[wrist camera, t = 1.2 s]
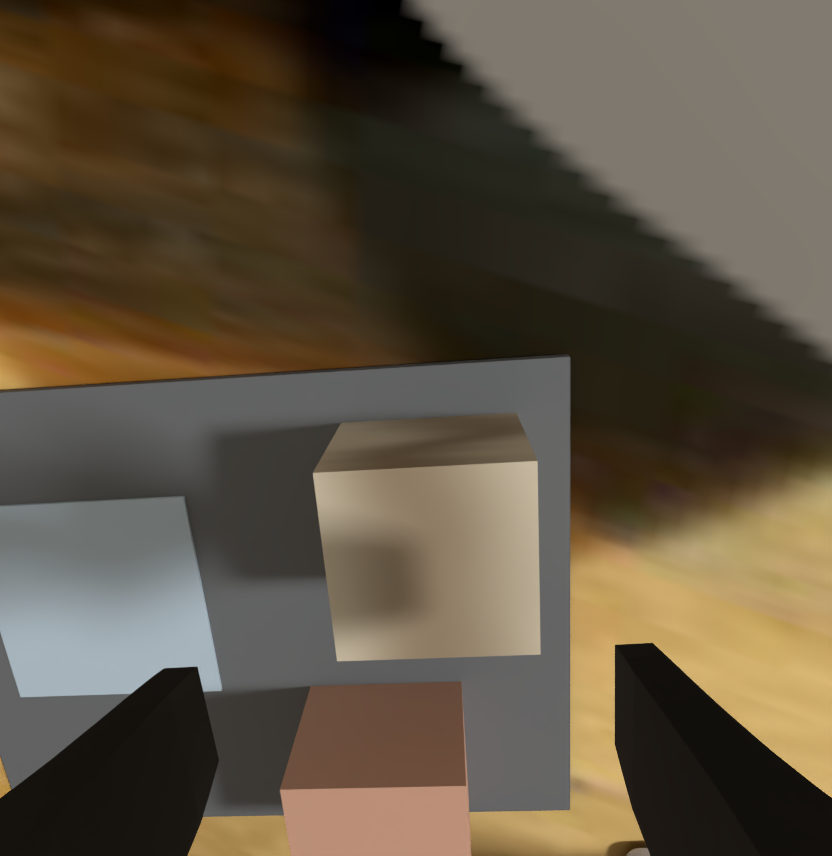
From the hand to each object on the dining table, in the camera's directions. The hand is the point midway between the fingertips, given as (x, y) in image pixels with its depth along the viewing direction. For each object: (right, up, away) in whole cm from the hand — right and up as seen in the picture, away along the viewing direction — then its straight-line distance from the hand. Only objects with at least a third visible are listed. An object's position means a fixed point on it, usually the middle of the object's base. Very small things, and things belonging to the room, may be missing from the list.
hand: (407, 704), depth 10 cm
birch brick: (+1, +3, +8) cm, 8 cm away
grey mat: (-5, -1, +9) cm, 11 cm away
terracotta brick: (-1, -6, +10) cm, 12 cm away
